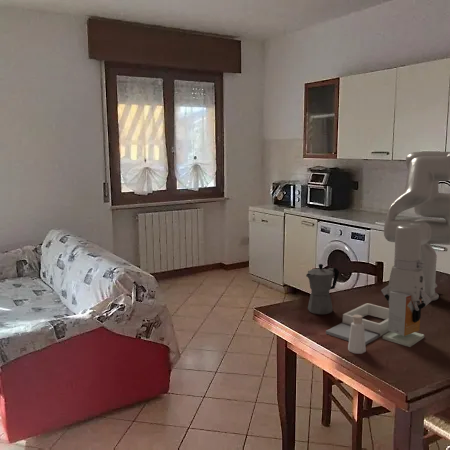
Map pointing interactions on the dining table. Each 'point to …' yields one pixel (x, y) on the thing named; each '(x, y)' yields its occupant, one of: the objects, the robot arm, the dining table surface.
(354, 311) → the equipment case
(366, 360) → the dining table surface
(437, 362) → the dining table surface
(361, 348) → the pepper shaker
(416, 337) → the rubber mat
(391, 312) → the small box
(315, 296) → the coffeepot
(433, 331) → the dining table surface
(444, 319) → the dining table surface
